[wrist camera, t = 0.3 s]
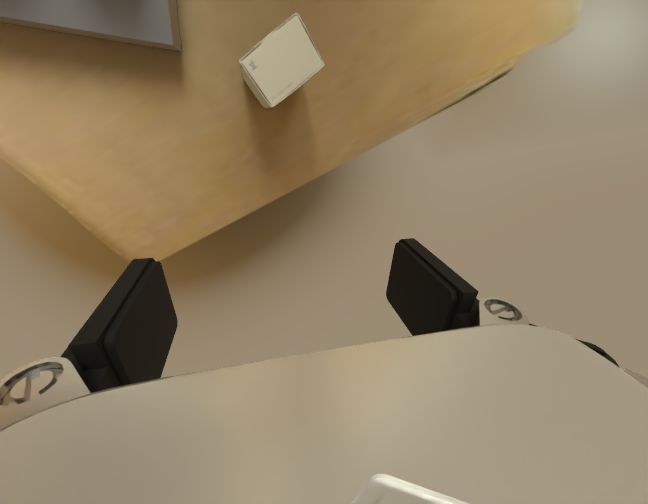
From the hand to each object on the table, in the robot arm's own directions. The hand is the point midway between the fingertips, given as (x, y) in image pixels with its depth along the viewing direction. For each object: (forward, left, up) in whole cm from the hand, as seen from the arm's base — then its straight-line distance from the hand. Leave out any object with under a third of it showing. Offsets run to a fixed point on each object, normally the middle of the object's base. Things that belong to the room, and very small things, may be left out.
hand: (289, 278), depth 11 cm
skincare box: (-9, +1, -31) cm, 32 cm away
